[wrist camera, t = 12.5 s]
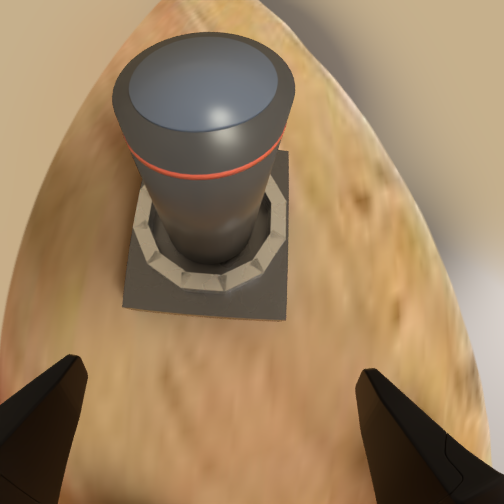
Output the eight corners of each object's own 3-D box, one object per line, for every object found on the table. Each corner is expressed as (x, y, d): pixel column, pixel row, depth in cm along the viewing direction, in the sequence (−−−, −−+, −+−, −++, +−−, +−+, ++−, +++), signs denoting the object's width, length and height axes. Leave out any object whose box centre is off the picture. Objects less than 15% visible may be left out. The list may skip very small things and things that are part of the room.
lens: (205, 282, 20) (183, 188, 7) (150, 219, 21) (83, 82, 8) (271, 225, 21) (333, 88, 9) (214, 169, 22) (216, 15, 9)
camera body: (278, 321, 22) (291, 319, 18) (132, 309, 21) (115, 305, 17) (282, 166, 26) (292, 140, 22) (156, 157, 25) (148, 130, 21)
